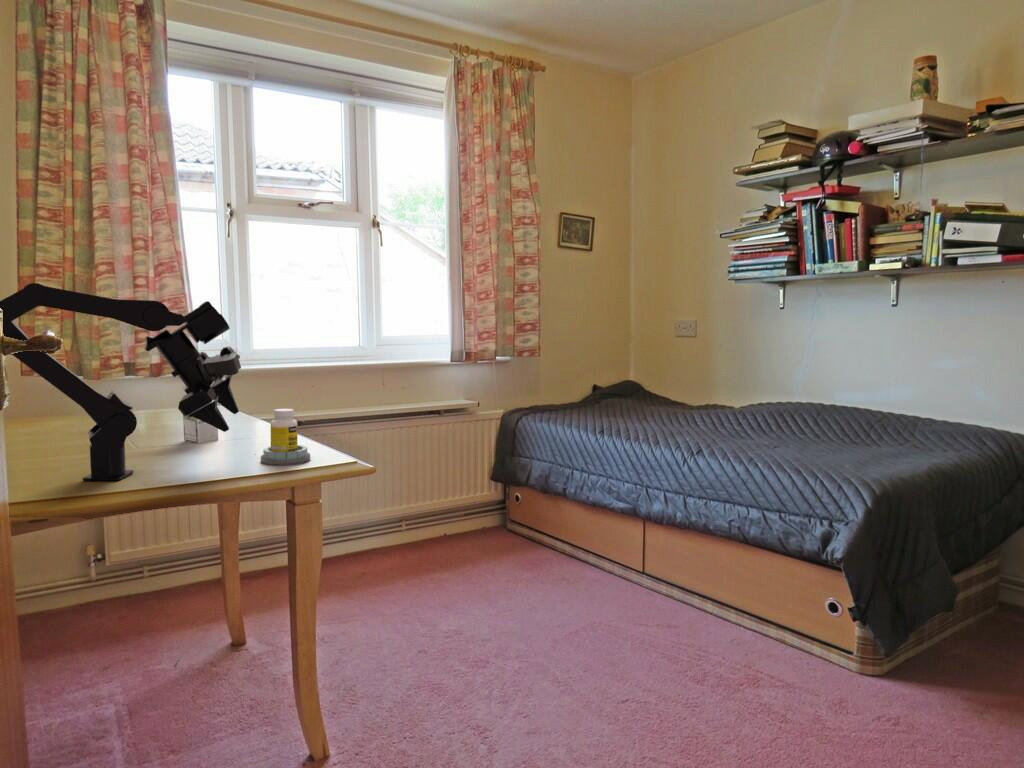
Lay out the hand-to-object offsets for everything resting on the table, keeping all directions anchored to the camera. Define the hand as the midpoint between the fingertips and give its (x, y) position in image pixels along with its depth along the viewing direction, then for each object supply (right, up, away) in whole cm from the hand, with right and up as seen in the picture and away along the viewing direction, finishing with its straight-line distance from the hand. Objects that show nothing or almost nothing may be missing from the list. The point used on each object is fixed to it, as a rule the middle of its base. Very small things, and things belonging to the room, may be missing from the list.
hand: (232, 421), depth 144 cm
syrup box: (-18, -6, +26) cm, 33 cm away
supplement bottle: (+9, -8, +6) cm, 13 cm away
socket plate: (+9, -9, +7) cm, 14 cm away
